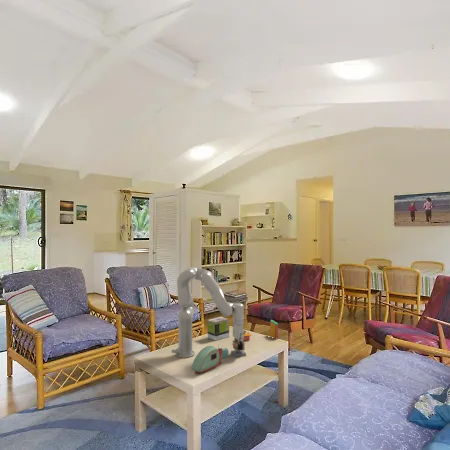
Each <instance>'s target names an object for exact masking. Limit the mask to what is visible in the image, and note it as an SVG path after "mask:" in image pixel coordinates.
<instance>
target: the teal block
mask: <svg viewBox="0 0 450 450" xmlns="http://www.w3.org/2000/svg"><path fill="white" fill-rule="evenodd" d="M221 348H222V349H223V353H222V355H221V358H226V357H229V349H228V348H227V347H221Z"/></svg>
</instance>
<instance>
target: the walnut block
mask: <svg viewBox="0 0 450 450" xmlns="http://www.w3.org/2000/svg"><path fill="white" fill-rule="evenodd" d="M240 341H241V340H240ZM238 344H239V343H238V340H233V341H232V345H233V347H232V348H233V349H234V350H236V351H240V350H238ZM245 347H246V346H245V341H243V349H242V350H243V351H244V350H245Z"/></svg>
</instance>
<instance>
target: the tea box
mask: <svg viewBox="0 0 450 450" xmlns="http://www.w3.org/2000/svg"><path fill="white" fill-rule="evenodd" d="M206 322H207V323H206V324H207V338H208V339H210V340H213V341H218V340H223V339H226V338H229V337H230V318H229V317H228V318H227V317H225V316H217V317H214V318H210V319H207V321H206Z"/></svg>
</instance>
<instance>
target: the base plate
mask: <svg viewBox="0 0 450 450" xmlns="http://www.w3.org/2000/svg"><path fill="white" fill-rule="evenodd" d="M230 354H231V355H232V356H233V357H234V358H239V357H246V356H247V353H246V352H245V351H244V350H240V351H236V350H235V349H234V350H230Z"/></svg>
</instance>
